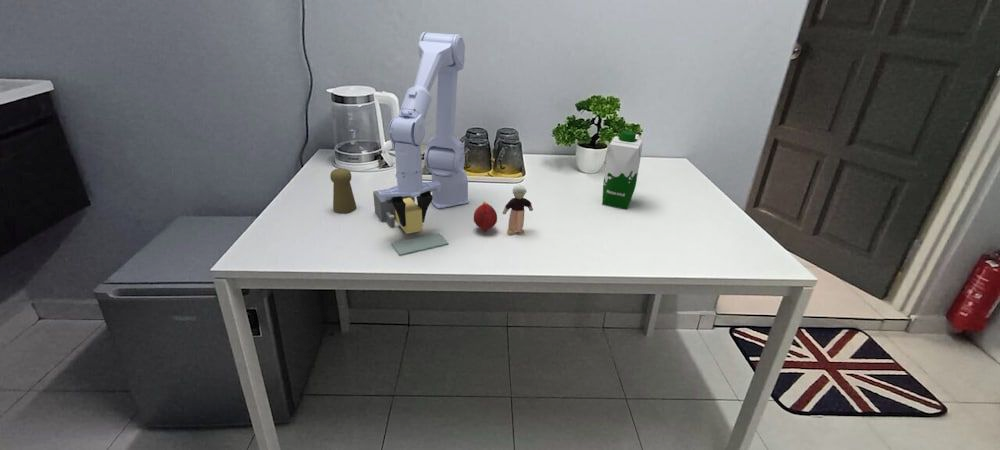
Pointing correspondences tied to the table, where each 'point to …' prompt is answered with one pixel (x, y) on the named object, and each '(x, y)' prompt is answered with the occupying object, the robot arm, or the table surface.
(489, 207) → the onion
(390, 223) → the grey boxy piece
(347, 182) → the cork
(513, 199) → the grandmother figurine
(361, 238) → the table surface
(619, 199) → the milk carton
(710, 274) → the table surface
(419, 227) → the tall tan block
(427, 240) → the mat
